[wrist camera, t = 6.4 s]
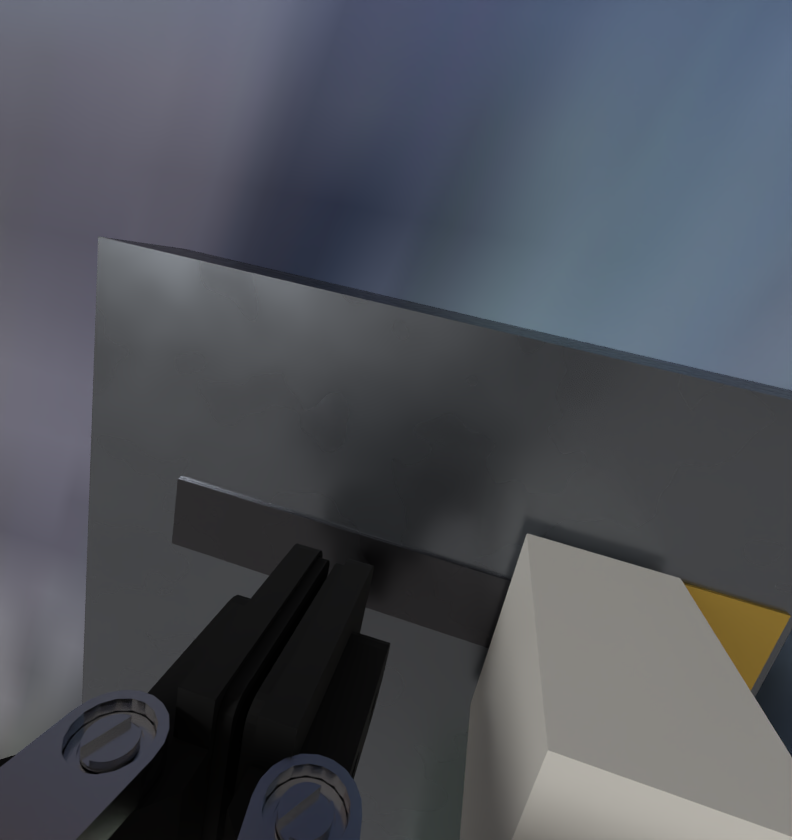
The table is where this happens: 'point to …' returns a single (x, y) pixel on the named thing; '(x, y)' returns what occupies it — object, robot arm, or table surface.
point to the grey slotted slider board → (403, 486)
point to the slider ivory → (615, 715)
